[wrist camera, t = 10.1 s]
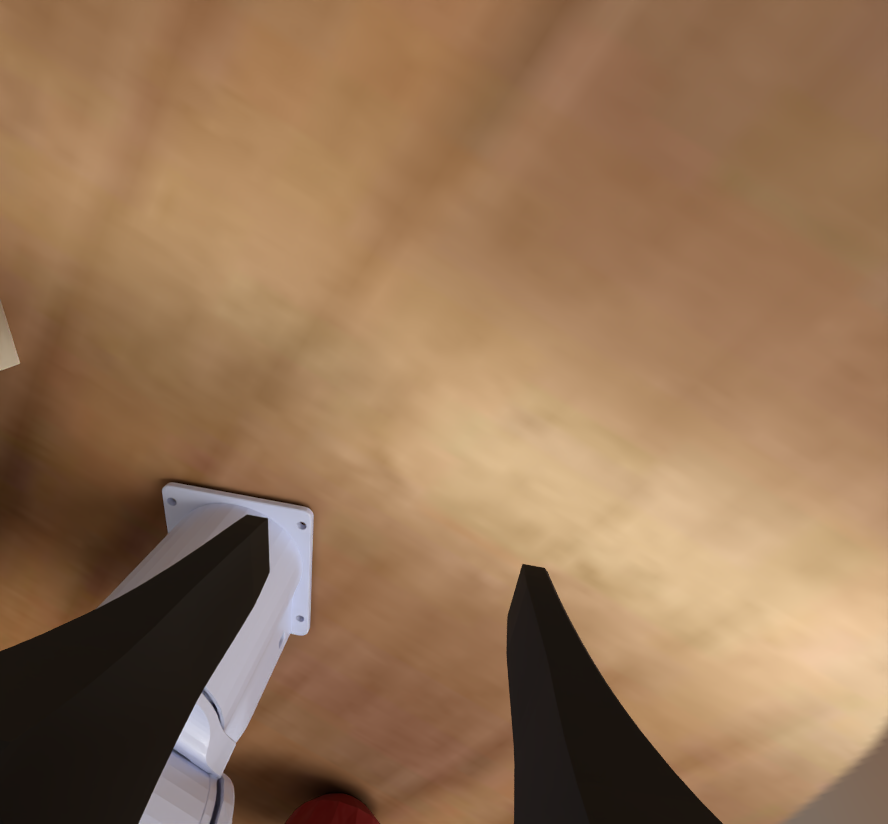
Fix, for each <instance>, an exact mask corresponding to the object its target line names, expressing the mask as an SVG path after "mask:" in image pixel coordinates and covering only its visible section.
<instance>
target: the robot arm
mask: <svg viewBox="0 0 888 824" xmlns="http://www.w3.org/2000/svg"><path fill="white" fill-rule="evenodd" d="M162 495H163V502H164V509H165V516H166V523H167V530H168V534H167V535H166V537H165V538H164V539H163V540H162V541H161V542H160V543H159V544H158V545H157V546H156V547H155V548H154V549H153V550H152V551H151V552H150V553H149V554H148V555H147V556H146V557H145V558H144V559H143V560H142V562H141V563H140V564H139V565H138V566H137V567H136V568H135V569H134V570H133V571H132V572H131V573H130V574H129V575H128V576H127V577H126V578H125V579H124V580H123V581H122V582H121V583H120V584H119V585H118V587H117V588H116V589H115V590H114V591H113V592H112V593H111V594H110V595H109V596H108V597H107V598H106V599H105V600H104V601H103V602H102V603H101V604H100V605H99V606H98V607H97V608H96V609H95V610H93V611H91V612H89V613H87V614H85V615H83V616H81V617H78V618H76V619H74V620H72V621H70V622H68V623H65V624H63V625H61V626H59V627H57V628H55V629H53V630H50V631H48V632H46V633H44V634H42V635H39V636H37V637H34V638H32V639H30V640H27V641H25V642H22V643H20V644H18V645H15V646H13V647H10V648H8V649H5V650H2V651H0V824H232V816H233V811H234V799H235V795H234V786H233V784H232V781H231V779H230V778H229V777H228V776H227V775H226V774H224V773H223V771H224V769H225V767H226V765H227V763H228V760H229V758H230V756H231V754H232V752H233V750H234V748H235V745H236V742H237V741H238V739H239V738H240V737H241V735H242V734H243V732H244V731H245V729H246V727H247V725H248V723H249V721H250V719H251V717H252V715H253V713H254V711H255V708H256V706H257V704H258V702H259V700H260V698H261V695H262V693H263V691H264V689H265V687H266V685H267V683H268V680H269V678H270V676H271V674H272V672H273V670H274V667H275V665H276V663H277V661H278V659H279V657H280V654H281V652H282V650H283V648H284V646H285V644H286V641H287V639H288V637H289V635H290V634H295V635H306V634H307V633H308V631H309V628H310V611H311V580H312V549H313V518H314V515H313V512H312V511H311V510H310V509H309V508H307V507H305V506H299V505H294V504H288V503H283V502H277V501H272V500H267V499H261V498H256V497H250V496H245V495H240V494H234V493H229V492H223V491H218V490H212V489H207V488H202V487H196V486H191V485H185V484H180V483H174V482H170V483H168V484H166V485H165V486H164V487H163V489H162ZM172 498H173V499H172ZM174 499H175V500H176V501H175V500H174ZM300 522H304V523H305V524H306V525H303V524H301V523H300ZM507 667H508V680H509V692H510V704H511V716H512V729H513V741H514V762H515V769H514V824H723V823H722V822H721V821H720V820H719V819H718V818H717V817H716V816H715V815H714V814H713V813H712V812H711V811H710V810H709V809H708V808H707V807H706V806H705V805H704V804H703V803H702V802H701V801H700V800H699V799H698V798H697V797H696V796H695V794H694V793H693V792H692V791H691V790H690V789H689V788H688V787H687V786H686V784H685V783H684V782H683V781H682V780H681V779H680V778H679V777H678V776H677V774H676V773H675V772H674V771H673V770H672V769H671V767H670V766H669V765H668V764H667V763H666V761H665V760H664V759H663V758H662V756H661V755H660V754H659V753H658V752H657V750H656V749H655V748H654V747H653V745H652V744H651V743H650V742H649V741H648V739H647V738H646V737H645V736H644V734H643V733H642V732H641V731H640V729H639V728H638V727H637V725H636V724H635V723H634V721H633V720H632V719H631V717H630V716H629V714H628V713H627V712H626V710H625V709H624V708H623V706H622V705H621V703H620V702H619V700H618V699H617V698H616V696H615V695H614V693H613V692H612V690H611V689H610V687H609V686H608V684H607V683H606V681H605V680H604V678H603V676H602V675H601V673H600V672H599V670H598V668H597V667H596V665H595V664H594V662H593V660H592V659H591V657H590V655H589V654H588V652H587V650H586V648H585V647H584V645H583V643H582V641H581V639H580V638H579V636H578V634H577V632H576V630H575V628H574V626H573V625H572V623H571V621H570V619H569V617H568V615H567V613H566V611H565V609H564V607H563V605H562V603H561V601H560V599H559V597H558V595H557V592H556V590H555V588H554V586H553V584H552V581H551V579H550V577H549V574H548V572H547V571H546V569H545V568H542V567H536V566H531V565H525V564H522V568H521V571H520V575H519V578H518V582H517V585H516V589H515V592H514V596H513V599H512V602H511V606H510V609H509V613H508V619H507Z"/></svg>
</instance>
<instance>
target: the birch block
mask: <svg viewBox="0 0 888 824" xmlns="http://www.w3.org/2000/svg"><path fill="white" fill-rule="evenodd" d="M18 364H20V361H19V358H18V355H17V351H16V348H15V345H14V342H13V339H12V335H11V332H10V329H9V326H8V322H7V319H6V316H5V313H4V309H3V306H2V303H1V300H0V371H1V370H4V369H7V368H10V367H12V366H15V365H18Z"/></svg>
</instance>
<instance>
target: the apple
mask: <svg viewBox="0 0 888 824" xmlns="http://www.w3.org/2000/svg"><path fill="white" fill-rule="evenodd" d="M285 824H380V823H379V822H378V820H377V819H376V818H375V817H374V815H373V814H372V813H371V811H370V810H369V809H368V808H367V806H366V805H365V804H363V803H362V802H361V801H359V800H358V799H356V798H354V797H353V796H350V795H346V794H343V793H332V794H325V795H322V796H320V797H317V798H315V799H312V800H310V801H308V802H305V803H304V804H302V805H301V806H300V807H298V808H297V809H296V810H295V811H294V812H293V814H292V815H291V816H290V817H289V819H288V820H287V821H286V823H285Z"/></svg>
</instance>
